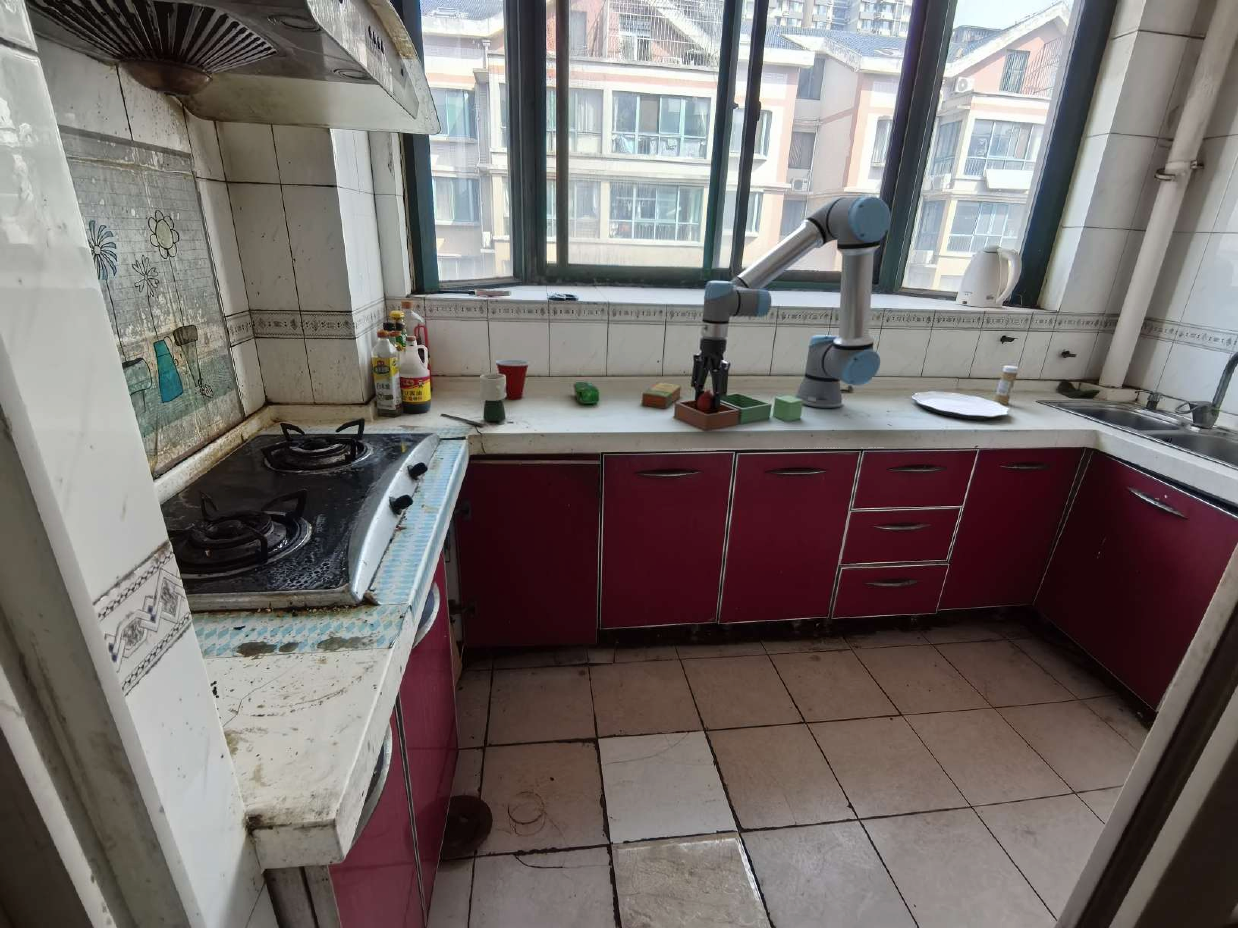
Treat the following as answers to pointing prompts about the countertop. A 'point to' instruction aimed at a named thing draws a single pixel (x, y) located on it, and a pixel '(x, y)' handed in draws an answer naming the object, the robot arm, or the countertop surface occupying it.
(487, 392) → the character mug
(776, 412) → the green block
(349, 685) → the countertop surface
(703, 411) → the onion
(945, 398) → the plate
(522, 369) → the plastic cup
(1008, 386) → the sprinkles bottle
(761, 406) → the green bin
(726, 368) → the robot arm
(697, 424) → the brown bin
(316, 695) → the countertop surface
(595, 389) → the snack package
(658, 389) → the carton
